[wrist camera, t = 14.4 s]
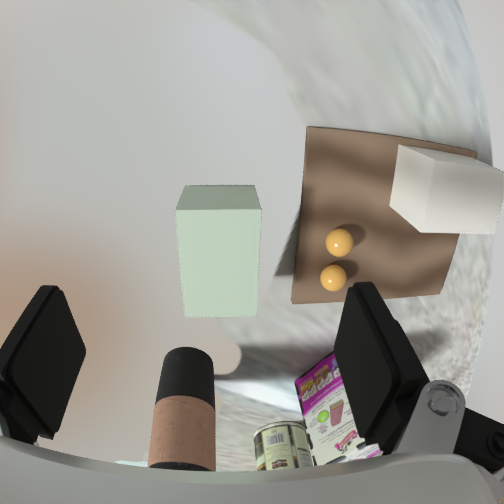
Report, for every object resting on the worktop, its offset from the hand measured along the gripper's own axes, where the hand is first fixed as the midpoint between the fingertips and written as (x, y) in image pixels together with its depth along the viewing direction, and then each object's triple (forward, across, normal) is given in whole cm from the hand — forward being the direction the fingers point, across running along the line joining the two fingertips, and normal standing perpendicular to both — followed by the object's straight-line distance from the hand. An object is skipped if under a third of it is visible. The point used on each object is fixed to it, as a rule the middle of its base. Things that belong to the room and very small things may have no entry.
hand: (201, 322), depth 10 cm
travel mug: (+23, +6, +29) cm, 37 cm away
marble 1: (+21, -12, +9) cm, 26 cm away
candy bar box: (+23, -15, +31) cm, 42 cm away
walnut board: (+24, -19, +8) cm, 32 cm away
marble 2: (+21, -12, +13) cm, 28 cm away
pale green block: (+24, 0, +9) cm, 25 cm away
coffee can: (+23, -9, +51) cm, 57 cm away
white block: (+23, -24, +2) cm, 33 cm away
